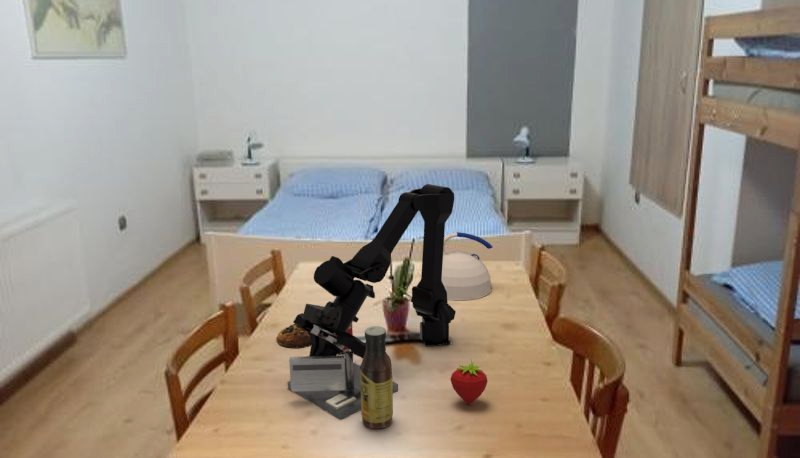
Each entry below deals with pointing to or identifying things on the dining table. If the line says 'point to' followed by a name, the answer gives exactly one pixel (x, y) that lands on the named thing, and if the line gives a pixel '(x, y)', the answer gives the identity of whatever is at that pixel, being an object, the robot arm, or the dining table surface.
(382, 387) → the sauce bottle
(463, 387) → the strawberry
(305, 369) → the grey slotted panel
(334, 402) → the strip
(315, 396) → the metal base plate
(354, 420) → the dining table surface
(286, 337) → the bread roll
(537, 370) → the dining table surface
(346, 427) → the dining table surface
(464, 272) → the kettle
